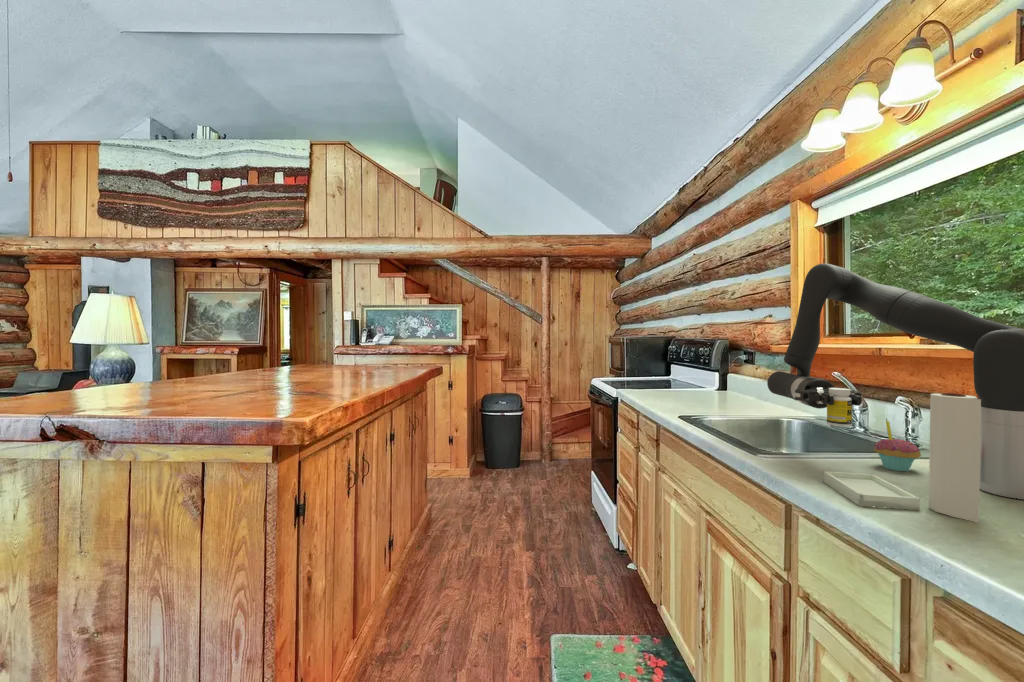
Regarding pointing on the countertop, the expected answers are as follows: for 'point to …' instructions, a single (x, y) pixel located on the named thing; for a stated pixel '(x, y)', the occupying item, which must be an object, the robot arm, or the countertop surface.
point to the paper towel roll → (955, 455)
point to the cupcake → (896, 452)
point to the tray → (871, 490)
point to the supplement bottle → (840, 408)
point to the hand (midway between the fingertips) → (845, 400)
